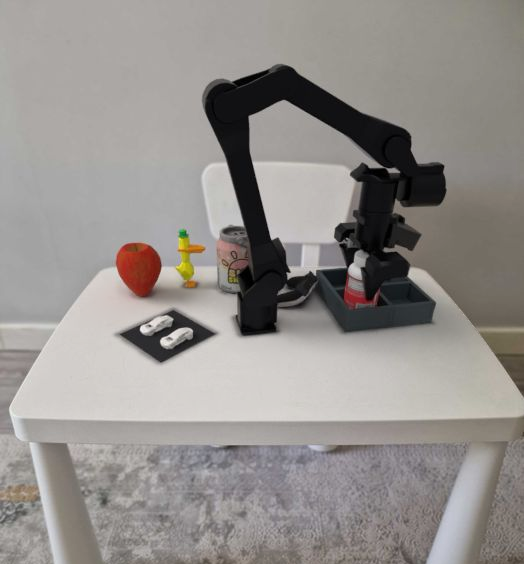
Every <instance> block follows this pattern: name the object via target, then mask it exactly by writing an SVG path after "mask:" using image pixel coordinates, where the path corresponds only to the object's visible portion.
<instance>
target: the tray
mask: <svg viewBox="0 0 524 564" xmlns="http://www.w3.org/2000/svg"><path fill="white" fill-rule="evenodd" d="M347 274H348V269H347V266H346V267H335V268H334V267H333V268H323V269H316V270H315V276H316V277H317V279H318V282H317V284H316V285H315V286H314V290H315V291H316V293H317V294H318V296H319V297H320V299H321V300H322V301H323V304H324V305H325V306H326V307H327V309H328V310H329V312H330V313H331V315H332V316H333V317H334V320H336V322H337V323H338V325H339V326H340V327H341V329H342V330H343V332H344V333H349V332H357V331H358V332H359V331H367V330H375V329H386V328H392V327H402V326H410V325H419V324H420V325H421V324H428V323H429V324H430V323H432V321H433V317H434V313H435V309H436V306H437V301H435V300H434V299H433V298H432V297H431V296H430V295H429V294H428V293H427V292H426V291H424V290H423V288H421V287H420V286H419V285H418V284H417V283H415V282H414V281H413V279H411V278H410V277H409V275H408V276H407V277H400V278H388V279H385V281H384V282H383V283H382V285H381V287H380V291H379V296H378V301H377V306H376V307H368V308H358V309H350V308H349V307H348V306H347V305H346V303H345V302H344V295H345V288H346V281H347Z"/></svg>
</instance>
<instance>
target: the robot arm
mask: <svg viewBox="0 0 524 564" xmlns="http://www.w3.org/2000/svg"><path fill="white" fill-rule="evenodd" d="M282 101H286V102H288V103H289V104H291V105H293V106H295V107H296V108H298V109H300V110H301V111H303V112H304V113H306V114H308V115H310V116H312V117H313V118H315V119H317V120H318V121H320V122H322V123H324V124H325V125H327V126H328V127H330V128H332V129H333V130H335V131H337V132H339V133H341V134H342V135H344V137H346V138H347V140H348V141H350V143H352V144H353V145H354V147H356V148H357V149H358V150H359V151H360V152H362V153H363V155H365V156H366V157H367V158H368V159H370V160H371V161H373V162H375V163H377V164H378V165H379V166H381V167H369V165H368V164H366V163H365V162H360V164H359V165H358V166H357V167H356V168H354V169H353V170H352V171H350V173H349V176H350V177H351V178H352V179H353V180H354V181H356V182H357V183H361V184H360V185H361V186H360V191H359V192H360V193H359V199H358V207H357V209H352V217H354V219H355V221H351V222H349V221H348V222H339V223H338V224H337V225H336V226H335V228H334V232H333V233H334V234H333V238H334V239H335V240H336V242H338V243H339V244H338V247H339V249H340V251H341V254H342V257H343V261H344V263H345V266H346V267H347V269H349V266H350V265H351V264H352V263H354V256H355V253H356V252H357V251H359V250H361V251H362V252H363V253H364V254H366V255H367V254H368V255H369V257H367V258H366V262H365V267H360V269H361V276H362V281H363V288H364V294H365V298H366V301H372V300H373V298H374V297H375V295H376V293H377V292H378V290H379V288H380V287H381V285H382V283H383V282H384V281H385V279H388V278H400V277H407V276H408V277H409V273H410V270H411V263H410V262H409V261H408V260H407V259H406V257H404V256H403V255H402V254H400V253H399V252H398V251H396V250H395V251H385V249H388V250H389V249H395V247H396V246H399V247H402V248H403V249H404V248H405V249H407V250H408V251H410V252H413V251H414V249H415V248H416V246H417V245H418V243H419V241H420V239H421V237H422V236H423V235H422V233H421V232H420V231H418V230H417V229H416V228H414V227H413V226H412V225H409V224H408V223H406V217H405V216H403V215H402V214H400V213H397V212H394V210H395V204H396V201H397V202H399V204H400V206H401V207H402V208H429V207H430V208H431V207H432V208H433V207H439V206H440V205H441V204H442V203H443V202H444V200H445V198H446V196H447V195H446V194H447V179H446V176H445V173H444V171H445V167H446V166H445V164H443V163H441V162H439V161H431V162H428V163H418V162H417V160H416V158H415V156H414V154H413V151H412V144H413V143H412V142H413V141H412V138H413V137H412V135H411V133H410V132H409V131H408V129H406V128H404V127H401V126H399V125H397V124H395V123H392V122H390V121H387V120H385V119H382V118H379V117H376V116H373V115H370V114H367V113H364V112H362V111H360V110H358V109H356V108H355V107H353V106H352V105H351V104H350V105H349V104H348V103H346V102H345V101H343V100H342V99H340V98H338V97H337V96H336V95H333V93H330V92H329V91H327V90H325V89H324V88H322V87H321V86H319V85H318V84H316V83H315V82H312V81H311V80H309V79H308V78H306V77H305V76H303V75H301V74H300V73H299V72H298V71H297V70H296V69H295V68H294V67H292V66H290V65H287V64H285V63H276V64H274V65H273V66H271V67H270V68H267V69H265V70H261V71H258V72H255V73H252V74H249V75H246V76H242V77H240V78H237V79H234V80H232V81H231V80H229V79H226V78H216V79H213V80H212V81H210V82H208V84H207V85H206V86H205V88H204V90H203V92H202V94H201V104H202V109H203V111H204V114H205V116H206V118H207V121H208V123H209V124H210V128H211V129H212V131H213V134H214V136H215V137H216V140H217V142H218V144H219V146H220V149H221V151H222V153H223V154H224V159H225V162H226V166H227V169H228V173H229V176H230V180H231V184H232V187H233V191H234V194H235V195H234V196H235V200H236V202H237V206H238V210H239V214H240V216H241V221H242V223H243V226H244V228H245V231H246V235H247V254H248V265H247V266H246V267H245V268H244V269H243V270H242V271H240V272H239V273H238V274H237V280H238V283H239V287H240V290H241V292H237V293H236V311H237V312H236V313H237V314H236V315H235V317H234V318H235V321H236V323H237V326H238V330H239V332H240V335H242V336H247V335H255V334H263V333H264V334H265V333H275V332H277V326H276V324H277V323H278V307H277V306H278V304H277V302H276V300H275V299H276V297H277V295H279V294H280V293H279V292H281V291H282V290H284V288H285V286H287V281H288V279H289V278H288V277H289V276H288V274H291V272H292V271H291V269H290V267H289V264H288V262H287V250H286V248H285V247H284V245H283V243H282V241H281V239H280V237H276V238H271V233H270V230H269V224H268V221H267V220H268V219H267V216H266V211H265V209H264V204H263V200H262V196H261V191H260V188H259V183H258V179H257V175H256V171H255V167H254V163H253V158H252V155H251V149H250V147H251V146H250V145H251V144H250V139H251V138H250V137H251V136H250V135H251V132H250V116H253V115H255V114H259V113H260V112H262V111H264V110H266V109H268V108H270V107H271V106H274V105H275V104H277V103H280V102H282ZM388 169H391V170H392V169H394V170H396V171H398V172H389V170H388Z"/></svg>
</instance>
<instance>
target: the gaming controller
mask: <svg viewBox="0 0 524 564" xmlns="http://www.w3.org/2000/svg"><path fill="white" fill-rule="evenodd" d="M317 282H318V279H317V277H316V274H315V273H314V272H312V271H311V270H309V271H308V272H307V273H306V274H305V275H295V276H291V277H289V278H288V281H287V284H286V287H287V288H289V289H291V290H289V291H286V292H283V293H278V295H277V297H276V299H275V300H276V302H277V304H278V306H277V308H285V307H292V306H296V305H298V306H299V305H301V304H302V303H303V302H304V301H305V300H306V298H308V297H309V295H310V294H311V292H312V291H313V290H314V289H315V285H316V284H317Z"/></svg>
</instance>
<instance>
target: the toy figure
mask: <svg viewBox="0 0 524 564" xmlns="http://www.w3.org/2000/svg"><path fill="white" fill-rule="evenodd" d="M178 233H179V234H178V235H177V238H178V247H177V248H176V249H177V252H179V253H180V257H181V263H180V264H179V265H173V267H174V268H175V270H176V271H177V272H178V274H179V275H180V276H181V278H182V279H183V281H186V283H185V285H184V286H185V288H195V287H196V283H197V282H196V280H195V281H194V280H191V279H192V278H193V276H194V275H195V267H194V265H193V264H192V262H190V260H191V259H190V258H191V254H202V253H203V252H204V251H206V246H204V245H202V244H194V243H193V244H192V243H190V234H189V233H187V229H186V228H182V229H179V230H178Z"/></svg>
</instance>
